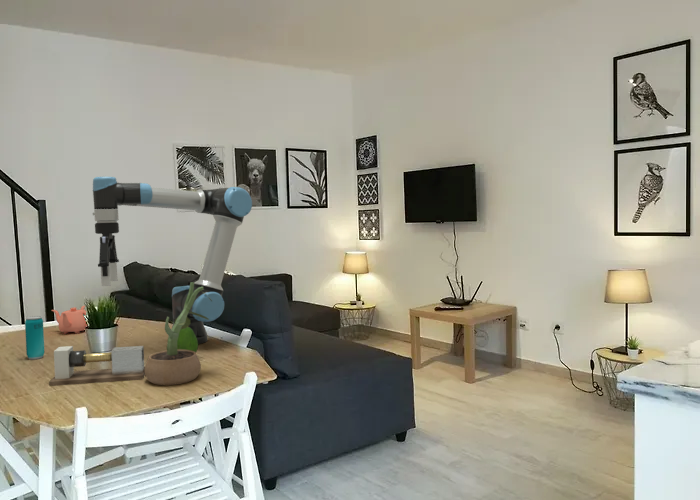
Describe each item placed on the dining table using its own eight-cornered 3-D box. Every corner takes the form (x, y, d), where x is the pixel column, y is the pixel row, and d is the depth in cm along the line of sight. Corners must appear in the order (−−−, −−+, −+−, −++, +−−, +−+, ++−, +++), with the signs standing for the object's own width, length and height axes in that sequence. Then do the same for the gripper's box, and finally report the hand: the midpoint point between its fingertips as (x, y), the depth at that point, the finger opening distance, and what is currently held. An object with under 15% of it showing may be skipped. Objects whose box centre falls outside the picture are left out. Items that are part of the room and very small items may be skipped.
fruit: (186, 355, 209) (186, 322, 208) (202, 357, 205) (201, 324, 204) (170, 360, 202) (169, 326, 201) (186, 362, 198) (185, 328, 197)
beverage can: (48, 356, 208) (46, 316, 207) (33, 360, 203) (31, 319, 202) (37, 355, 211) (35, 315, 210) (23, 359, 205) (21, 318, 204)
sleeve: (144, 368, 186) (143, 345, 185) (142, 372, 181) (141, 349, 181) (115, 370, 184) (114, 347, 184) (112, 374, 179) (111, 350, 179)
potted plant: (160, 391, 166) (157, 289, 164) (136, 378, 179) (132, 284, 178) (228, 375, 181) (226, 282, 179) (201, 365, 195) (198, 278, 193)
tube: (126, 361, 185) (125, 346, 184) (123, 365, 180) (123, 349, 180) (63, 365, 181) (62, 350, 180) (58, 369, 176) (58, 353, 175)
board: (147, 369, 189) (147, 366, 189) (142, 379, 178) (142, 375, 178) (59, 375, 183) (59, 372, 183) (49, 385, 173) (49, 381, 172)
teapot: (63, 336, 243) (61, 311, 242) (52, 332, 253) (50, 307, 252) (97, 331, 253) (96, 307, 252) (85, 327, 263) (84, 304, 263)
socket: (74, 376, 182) (72, 346, 181) (69, 382, 176) (67, 350, 175) (60, 377, 181) (59, 346, 180) (55, 383, 175) (53, 351, 175)
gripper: (101, 221, 206) (105, 279, 207) (86, 223, 182) (90, 288, 183) (123, 221, 208) (126, 278, 209) (111, 222, 183) (115, 287, 185)
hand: (109, 283), depth 196 cm, fingers open, 13 cm apart
